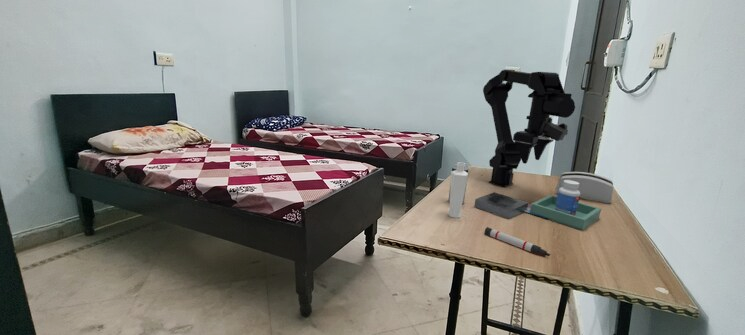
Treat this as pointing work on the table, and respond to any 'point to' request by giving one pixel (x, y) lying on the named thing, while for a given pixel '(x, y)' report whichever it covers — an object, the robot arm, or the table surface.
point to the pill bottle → (568, 197)
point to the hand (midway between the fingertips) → (531, 161)
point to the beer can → (454, 170)
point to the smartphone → (531, 213)
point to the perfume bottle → (457, 190)
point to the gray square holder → (493, 205)
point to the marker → (515, 242)
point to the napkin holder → (589, 185)
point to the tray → (579, 221)
